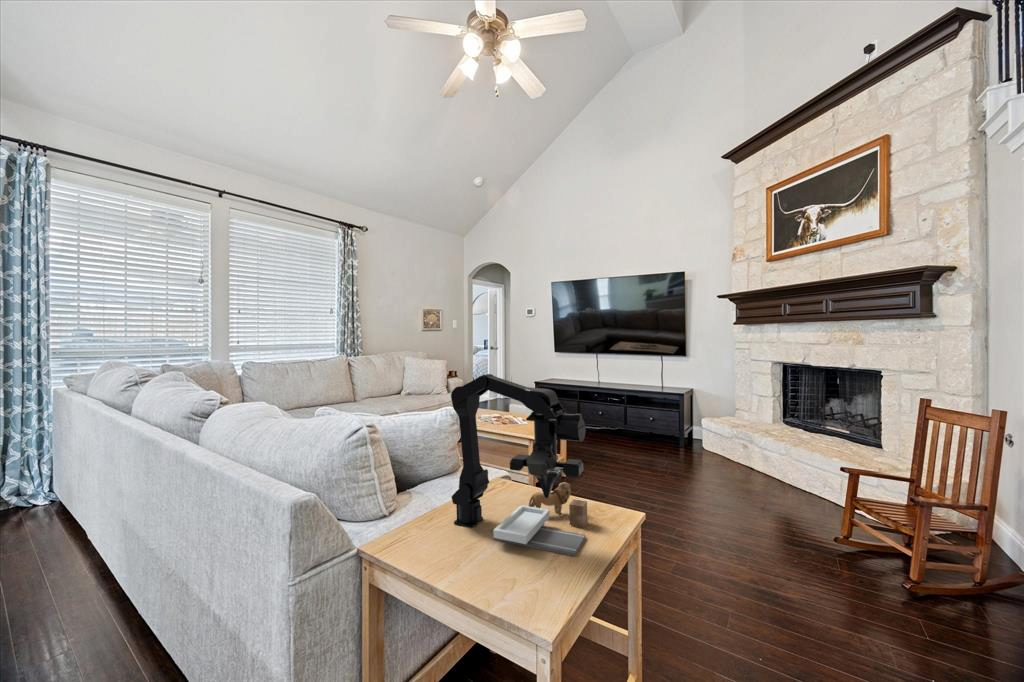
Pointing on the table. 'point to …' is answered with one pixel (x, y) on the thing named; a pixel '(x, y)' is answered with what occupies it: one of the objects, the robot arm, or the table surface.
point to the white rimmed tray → (522, 524)
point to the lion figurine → (552, 498)
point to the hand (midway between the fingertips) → (547, 497)
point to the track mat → (554, 541)
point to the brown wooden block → (578, 513)
